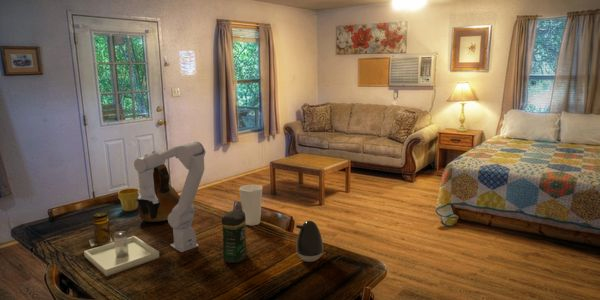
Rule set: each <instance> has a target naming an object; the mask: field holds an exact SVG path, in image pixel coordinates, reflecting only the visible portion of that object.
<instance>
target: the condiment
mask: <svg viewBox="0 0 600 300" xmlns="http://www.w3.org/2000/svg"><path fill="white" fill-rule="evenodd" d="M92 219H93V221H92V227H93V233H94V235H93V236H94V238H91V239H88V243H89V245H90V247H96V246H99V245H106V244H109V243H112V242H114V239H112V237H111V236H112V235H111V230H110V222H109V218H108V213H107V212H97V213H95V214H93V218H92ZM95 243H97V244H95ZM98 244H99V245H98Z"/></svg>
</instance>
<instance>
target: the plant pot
mask: <svg viewBox="0 0 600 300" xmlns="http://www.w3.org/2000/svg"><path fill="white" fill-rule="evenodd" d="M138 192H140V188H137V187H132V188H131V187H129V188H123V189H120V190H119V191H118V192H117V198H118V200H120V203H121V208H122V210H123V211H124V212H131V211H135V210H137V209H138V202H137V201H136V199H138Z"/></svg>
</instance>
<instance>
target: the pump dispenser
mask: <svg viewBox="0 0 600 300" xmlns="http://www.w3.org/2000/svg"><path fill="white" fill-rule="evenodd" d="M295 228H296V229H299V231H298V235H297V239H296V246H295V252H296V253H297V255H298V257H299V259H301V260H302V261H304V262H308V263H312V262H313V263H314V262H316V261H317V260H319V259H320V258H321V257H322V255H323V251H324V245H323V238H322V233H321V232H320V229H319V227H318V225H317V224H316V222H315V221H313V220H306V221H304V222H303V223H302V225H300V224H299V225H298V224H296V225H295Z"/></svg>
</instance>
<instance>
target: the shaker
mask: <svg viewBox="0 0 600 300" xmlns="http://www.w3.org/2000/svg"><path fill="white" fill-rule="evenodd" d="M127 238H128V232H127V231H125V230H121V231H120V230H119V231H116V232H114V233H113V242H114V243H115V252H116V257H117V258H123V257H126V256H128V255H129V251H128V242H127Z"/></svg>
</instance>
